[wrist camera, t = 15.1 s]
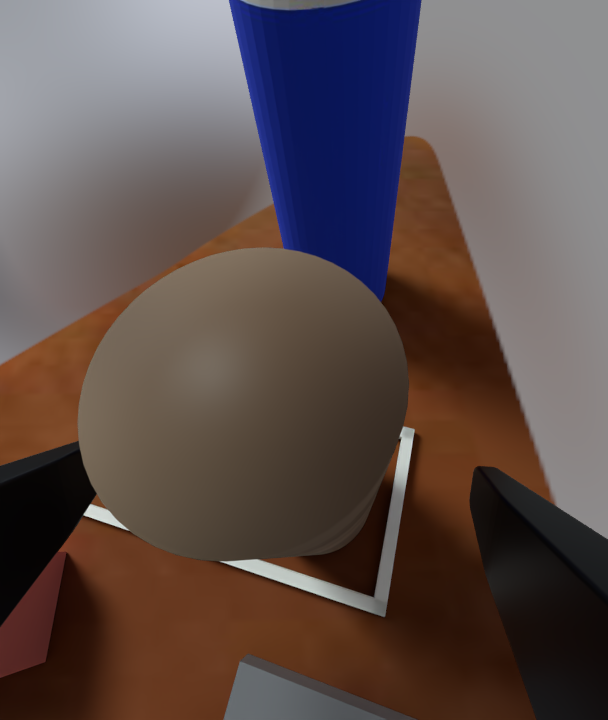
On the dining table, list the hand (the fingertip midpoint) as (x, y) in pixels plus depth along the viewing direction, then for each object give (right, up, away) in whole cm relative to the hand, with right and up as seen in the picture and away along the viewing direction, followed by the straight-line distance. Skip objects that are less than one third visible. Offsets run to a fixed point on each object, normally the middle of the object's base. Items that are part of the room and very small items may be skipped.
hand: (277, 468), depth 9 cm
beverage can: (+3, +6, +13) cm, 15 cm away
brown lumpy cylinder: (+1, -3, +8) cm, 9 cm away
